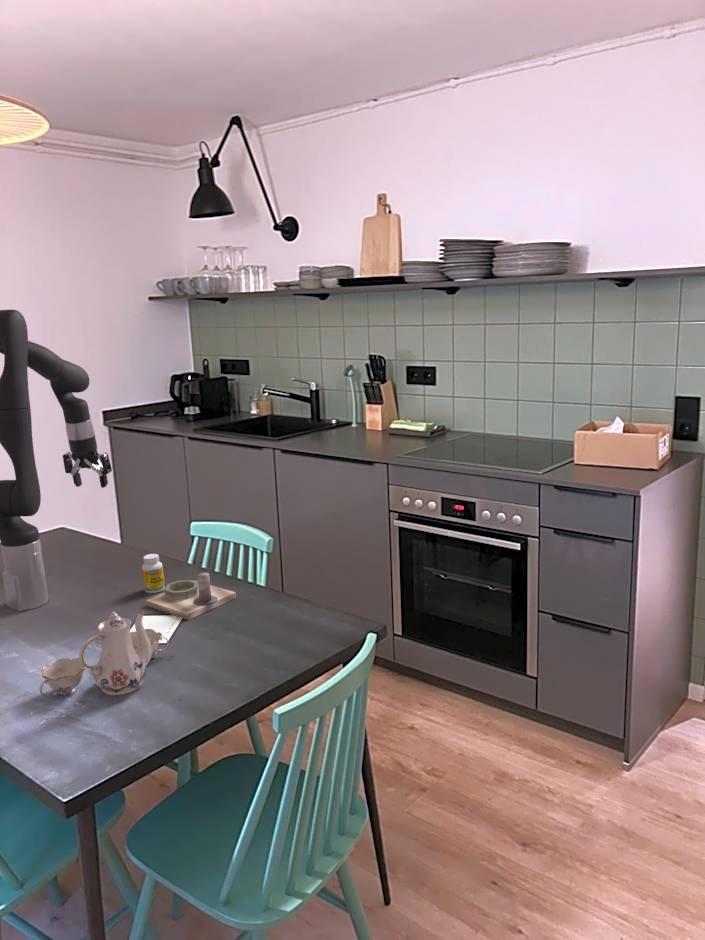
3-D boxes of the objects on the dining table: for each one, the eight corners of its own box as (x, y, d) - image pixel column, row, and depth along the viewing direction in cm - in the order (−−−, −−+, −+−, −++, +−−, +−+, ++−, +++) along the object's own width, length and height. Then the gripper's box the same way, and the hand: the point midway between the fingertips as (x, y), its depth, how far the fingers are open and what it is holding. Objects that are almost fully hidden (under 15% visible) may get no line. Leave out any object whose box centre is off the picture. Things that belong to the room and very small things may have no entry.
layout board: (189, 620, 185) (186, 587, 183) (146, 605, 195) (143, 574, 193) (237, 598, 197) (234, 567, 195) (195, 585, 207) (192, 555, 205)
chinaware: (149, 651, 174) (136, 581, 171) (195, 664, 163) (183, 590, 160) (33, 705, 153) (16, 627, 150) (77, 724, 142) (60, 640, 139)
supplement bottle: (158, 584, 209) (155, 551, 207) (168, 589, 205) (165, 555, 203) (140, 590, 206) (136, 556, 203) (150, 595, 202) (147, 561, 200)
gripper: (52, 438, 221) (63, 490, 227) (95, 439, 218) (106, 491, 223) (67, 430, 228) (77, 480, 234) (109, 431, 224) (119, 482, 230)
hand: (91, 486), depth 229 cm, fingers open, 8 cm apart
